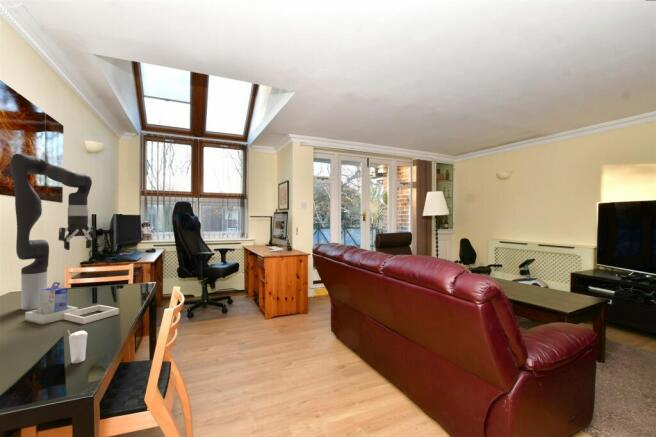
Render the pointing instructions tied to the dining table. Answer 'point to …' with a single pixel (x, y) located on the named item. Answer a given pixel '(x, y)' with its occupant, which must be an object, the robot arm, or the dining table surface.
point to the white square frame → (77, 318)
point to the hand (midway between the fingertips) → (78, 248)
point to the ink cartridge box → (52, 299)
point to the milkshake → (78, 346)
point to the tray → (47, 316)
